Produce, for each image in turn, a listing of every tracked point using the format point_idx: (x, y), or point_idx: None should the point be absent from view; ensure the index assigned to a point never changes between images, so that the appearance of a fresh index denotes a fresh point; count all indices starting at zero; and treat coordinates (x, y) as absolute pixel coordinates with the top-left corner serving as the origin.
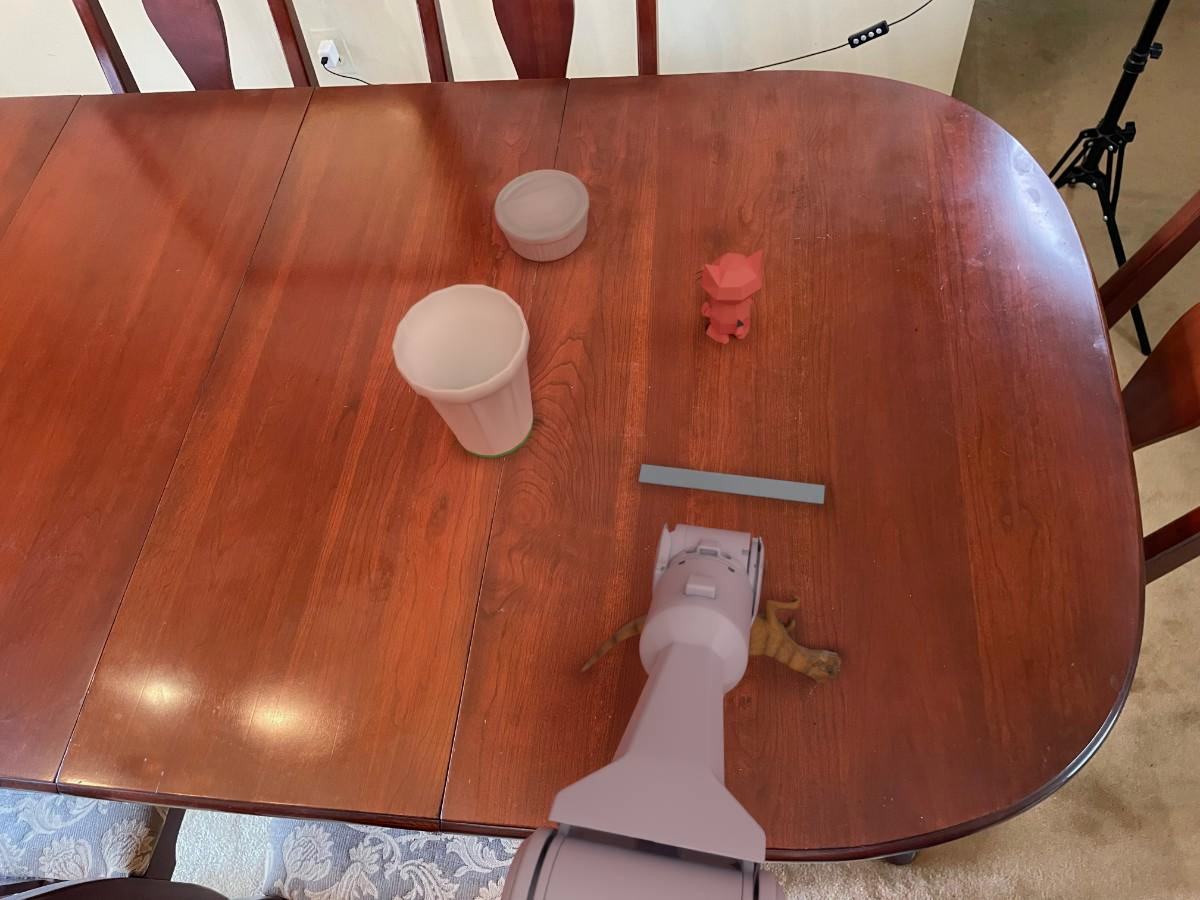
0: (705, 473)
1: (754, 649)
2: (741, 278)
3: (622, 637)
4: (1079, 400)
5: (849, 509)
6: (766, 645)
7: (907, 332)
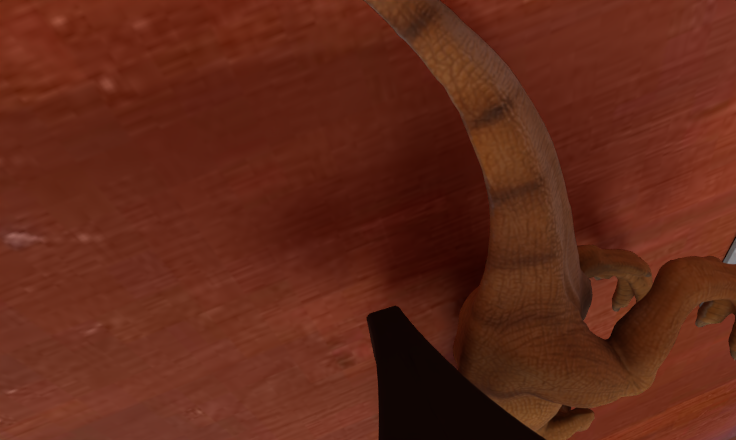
0: None
1: None
2: None
3: (438, 60)
4: (732, 428)
5: (681, 335)
6: None
7: None
